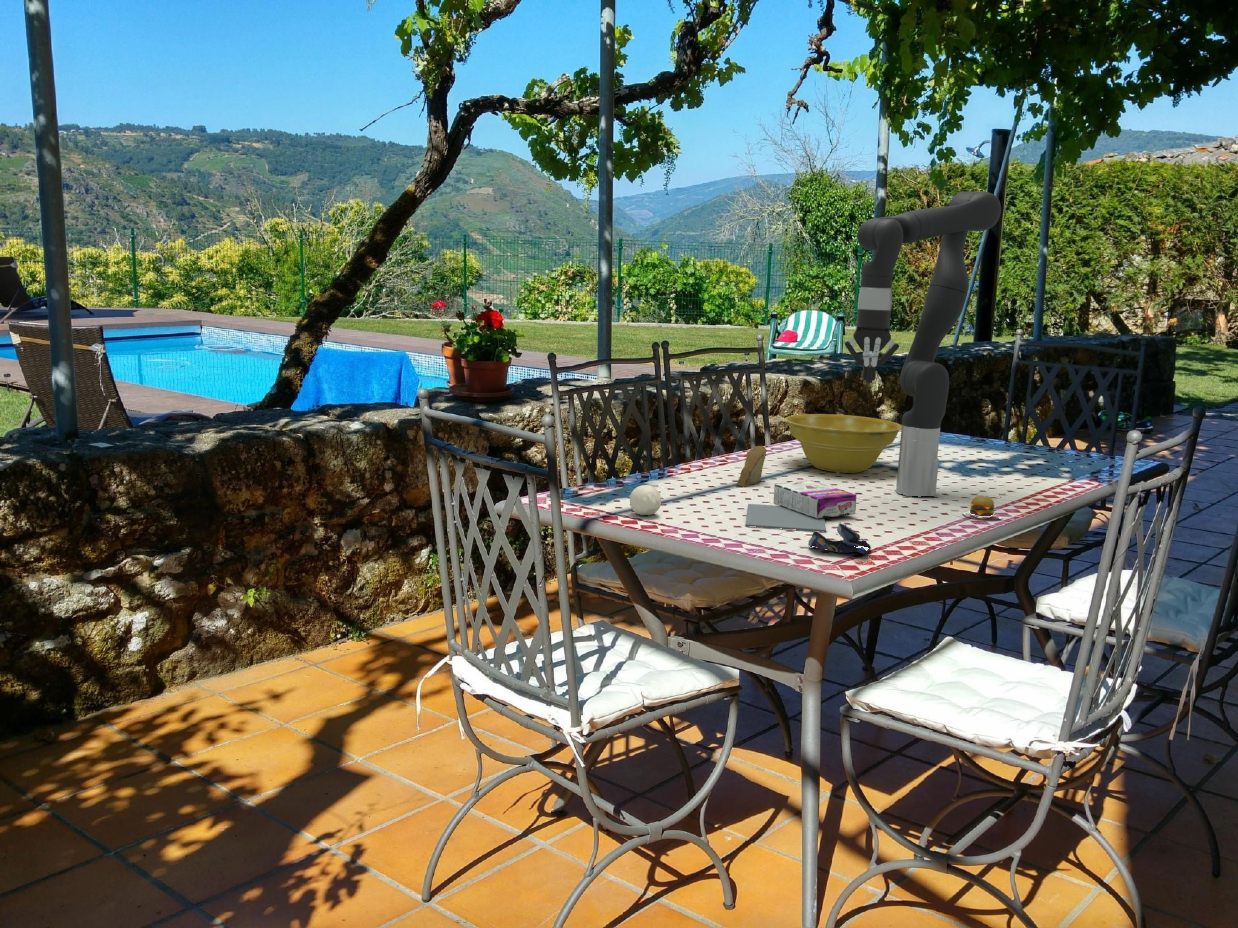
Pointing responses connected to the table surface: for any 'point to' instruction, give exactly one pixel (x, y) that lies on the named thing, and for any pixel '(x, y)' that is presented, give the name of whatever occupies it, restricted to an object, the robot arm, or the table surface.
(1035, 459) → the table surface
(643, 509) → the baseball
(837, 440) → the planter bowl
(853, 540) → the snack package
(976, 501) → the hamburger
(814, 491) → the candy bar box
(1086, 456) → the table surface
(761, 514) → the mat
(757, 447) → the rock
